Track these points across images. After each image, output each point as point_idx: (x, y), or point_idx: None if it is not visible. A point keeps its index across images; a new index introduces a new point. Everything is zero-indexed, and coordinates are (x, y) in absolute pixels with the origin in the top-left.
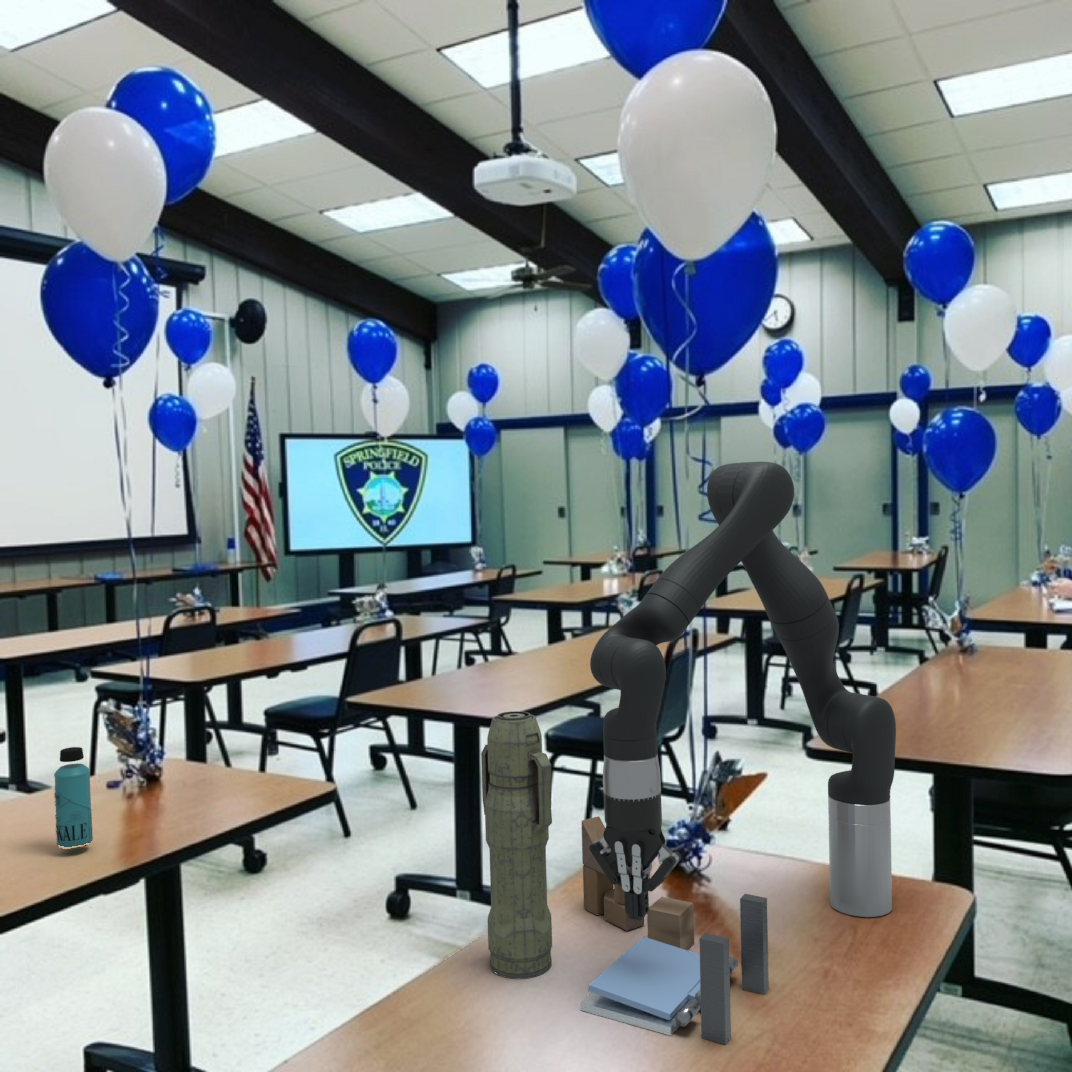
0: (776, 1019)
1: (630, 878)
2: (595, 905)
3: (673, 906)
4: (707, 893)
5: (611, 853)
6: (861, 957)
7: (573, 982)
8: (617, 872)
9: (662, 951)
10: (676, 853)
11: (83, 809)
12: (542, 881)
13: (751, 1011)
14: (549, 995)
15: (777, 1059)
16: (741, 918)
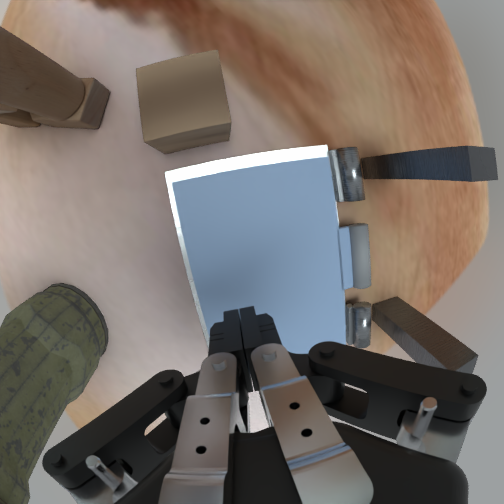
0: (421, 225)
1: (247, 421)
2: (29, 124)
3: (188, 90)
4: None
5: (113, 447)
6: (410, 33)
7: (153, 323)
8: (174, 417)
9: (235, 203)
10: (476, 410)
11: None
12: (36, 408)
13: (395, 227)
14: (159, 365)
15: (437, 295)
16: (440, 179)
